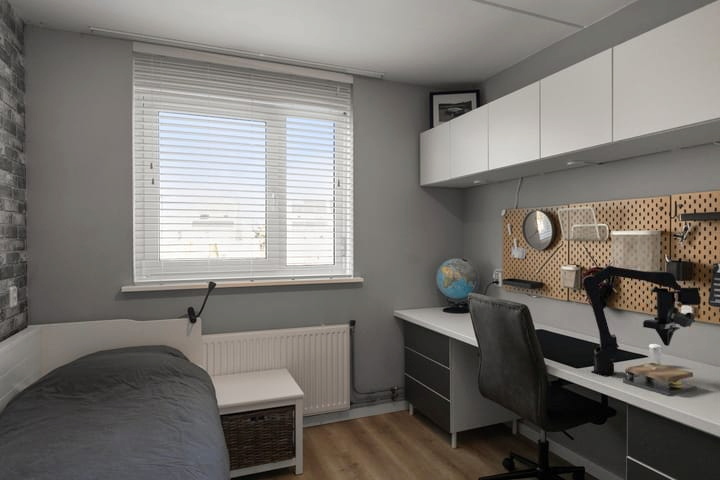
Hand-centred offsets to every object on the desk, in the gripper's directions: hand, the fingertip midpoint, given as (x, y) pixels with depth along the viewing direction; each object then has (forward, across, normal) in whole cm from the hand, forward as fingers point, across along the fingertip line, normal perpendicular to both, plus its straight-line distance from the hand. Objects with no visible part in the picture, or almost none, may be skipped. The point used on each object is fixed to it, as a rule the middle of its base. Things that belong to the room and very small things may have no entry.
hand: (666, 345), depth 164 cm
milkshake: (+13, +16, +14) cm, 25 cm away
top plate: (+9, -10, -3) cm, 14 cm away
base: (+13, -10, -3) cm, 17 cm away
